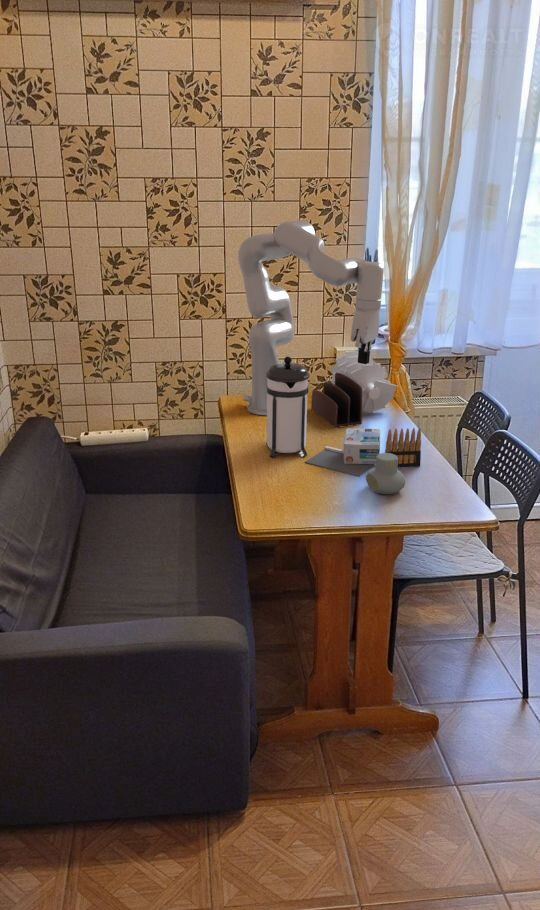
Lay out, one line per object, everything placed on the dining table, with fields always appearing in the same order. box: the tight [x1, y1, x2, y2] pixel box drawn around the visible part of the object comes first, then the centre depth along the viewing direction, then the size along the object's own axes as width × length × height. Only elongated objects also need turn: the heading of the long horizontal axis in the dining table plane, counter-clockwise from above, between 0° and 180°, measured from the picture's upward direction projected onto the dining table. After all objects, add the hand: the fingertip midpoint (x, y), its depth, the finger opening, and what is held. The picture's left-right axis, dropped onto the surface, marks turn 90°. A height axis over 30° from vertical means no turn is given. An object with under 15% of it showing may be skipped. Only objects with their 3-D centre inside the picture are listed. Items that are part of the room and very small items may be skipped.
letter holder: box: [310, 372, 363, 428], centre depth 263 cm, size 10×20×14 cm, turn 22°
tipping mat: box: [304, 445, 376, 477], centre depth 229 cm, size 18×13×1 cm
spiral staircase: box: [330, 348, 398, 414], centre depth 275 cm, size 18×18×25 cm
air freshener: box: [365, 452, 406, 495], centre depth 209 cm, size 11×8×10 cm
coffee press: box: [265, 356, 310, 459], centre depth 232 cm, size 17×16×30 cm
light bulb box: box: [343, 427, 381, 465], centre depth 229 cm, size 11×7×11 cm
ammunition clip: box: [384, 427, 422, 469], centre depth 224 cm, size 11×2×12 cm, turn 97°
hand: (363, 362), depth 238 cm, fingers closed
